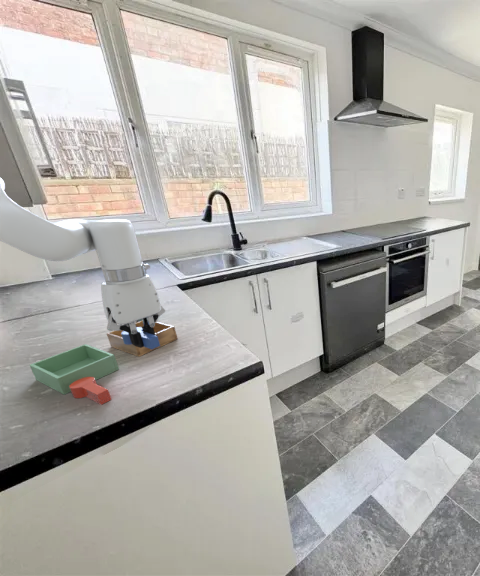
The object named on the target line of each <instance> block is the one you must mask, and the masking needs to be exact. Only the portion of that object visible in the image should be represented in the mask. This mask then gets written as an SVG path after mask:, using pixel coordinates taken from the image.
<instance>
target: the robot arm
mask: <svg viewBox="0 0 480 576" xmlns="http://www.w3.org/2000/svg"><path fill="white" fill-rule="evenodd" d="M5 189H6V183H5V181H4V180H3V179H2V178H1V177H0V242H2V243H3V244H6V245H8V246H11V247H13V248H15V249H17V250H19V251H21V252H24V253H26V254H28V255H31V256H33V257H36V258H38V259H42V260H46V261H48V262H49V261H50V262H65V261H69V260H72V259H74V258H76V257H79V256H82V255H85V254H88V253H90V252H96V255H97V259H98V261H99V265H100V268H101V271H102V274H103V279H104V282H101V283H100V293H101V300H102V306H103V311H104V315H105V318H106V321H107V326H106V329H107V330H108V331H110V332H112V331H125V332H128V333H129V337H130V340H131V343H132V344H133V345H135V346H137V347H140V348H142V347H144V344H143V341H142V336H141V333H140V332H138V331H137V328H136V325H135V323H136V322H138V321H137V320H139V319H142V321H143V324H144V326H142V330H143V332H146V333H149V334H153V335H155V332H154V328H153V327H154V326H155V322H157V321H158V319H159V317H161V316H162V315H163V314H165V312H166V309H165V308H164V307H163V306H162V302H161V298H160V296H159V294H158V290H157V289H156V286H155V284H154V282H153V280H152V278H151V276H150V275H149V274H148V273H147V271H148V270H150V269H151V265H150V264H149V263H146V264H145V263H144V262H143V258H142V254H141V250H140V245H139V242H138V239H137V234H136V230H135V226H134V224H133V223H132V222H131V221H130V220H129V219H124V218H111V219H99V220H90V219H81V218H80V219H78V218H73V219H72V218H70V219H63V220H58V221H50V220H47V219H46V218H44V217H42V216H39V215H37V214H36V213H33V212H32V211H30V210H28V209H26V208H24V207H23V206H22V205H19V204H18V203H17V202H16V201H14V200H12V199H11V198H10V197H9V196H8V194H7V193H6V192H5Z"/></svg>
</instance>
